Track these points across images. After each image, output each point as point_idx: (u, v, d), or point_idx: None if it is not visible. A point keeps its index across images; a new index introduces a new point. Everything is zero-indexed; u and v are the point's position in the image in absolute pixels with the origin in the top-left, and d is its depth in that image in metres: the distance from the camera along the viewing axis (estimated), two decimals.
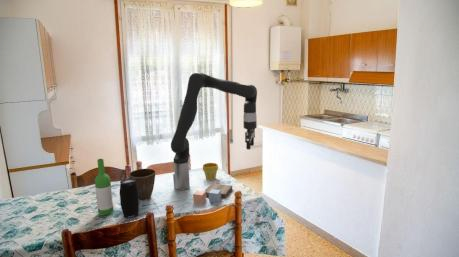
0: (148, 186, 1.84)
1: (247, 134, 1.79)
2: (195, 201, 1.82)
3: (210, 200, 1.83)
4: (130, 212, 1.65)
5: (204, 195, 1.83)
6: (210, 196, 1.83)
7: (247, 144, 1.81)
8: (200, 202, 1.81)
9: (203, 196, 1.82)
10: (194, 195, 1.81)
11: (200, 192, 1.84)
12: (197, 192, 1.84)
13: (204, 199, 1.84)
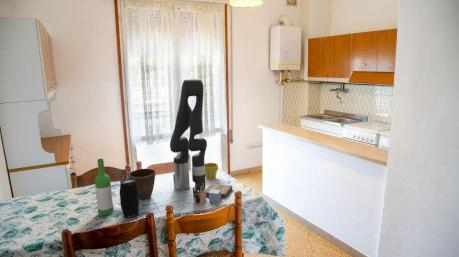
0: (148, 186, 1.84)
1: (194, 190, 1.76)
2: (195, 201, 1.82)
3: (210, 200, 1.83)
4: (130, 212, 1.65)
5: (204, 195, 1.83)
6: (210, 196, 1.83)
7: (196, 198, 1.80)
8: (200, 202, 1.81)
9: (203, 196, 1.82)
10: None
11: None
12: None
13: (204, 199, 1.84)
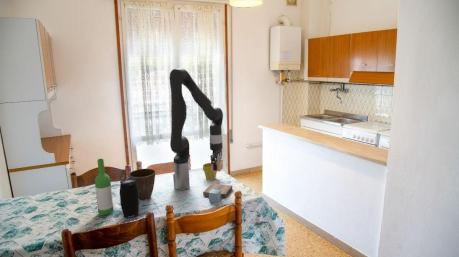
0: (148, 186, 1.84)
1: (212, 157, 1.85)
2: None
3: (210, 200, 1.83)
4: (130, 212, 1.65)
5: (221, 163, 1.92)
6: (210, 196, 1.83)
7: (213, 166, 1.89)
8: (217, 169, 1.90)
9: (220, 164, 1.90)
10: None
11: None
12: None
13: (221, 167, 1.92)
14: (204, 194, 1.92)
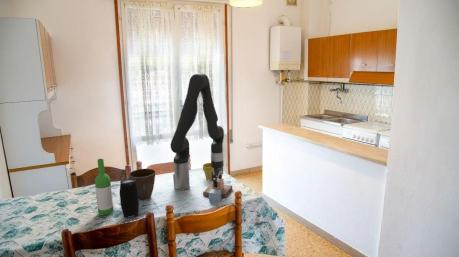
0: (148, 186, 1.84)
1: (213, 174, 1.87)
2: (214, 188, 1.94)
3: (210, 200, 1.83)
4: (130, 212, 1.65)
5: (222, 182, 1.95)
6: (210, 196, 1.83)
7: (214, 183, 1.90)
8: (219, 189, 1.93)
9: (221, 184, 1.93)
10: (213, 182, 1.93)
11: (219, 179, 1.96)
12: None
13: (222, 186, 1.95)
14: (204, 194, 1.92)
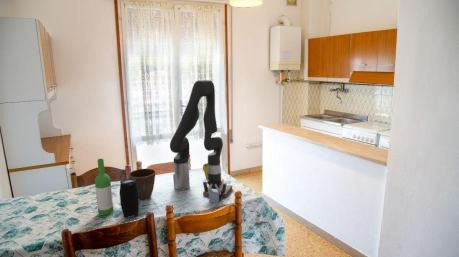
0: (148, 186, 1.84)
1: None
2: None
3: (210, 200, 1.83)
4: (130, 212, 1.65)
5: (222, 182, 1.95)
6: (210, 196, 1.83)
7: (208, 193, 1.86)
8: None
9: None
10: None
11: None
12: None
13: None
14: (204, 194, 1.92)
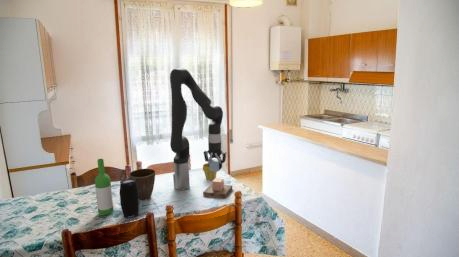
0: (148, 186, 1.84)
1: None
2: (214, 188, 1.94)
3: (210, 169, 1.86)
4: (130, 212, 1.65)
5: (222, 182, 1.95)
6: (210, 165, 1.86)
7: None
8: (219, 189, 1.93)
9: (221, 184, 1.93)
10: (213, 182, 1.93)
11: (219, 179, 1.96)
12: (215, 179, 1.95)
13: (222, 186, 1.95)
14: (204, 194, 1.92)
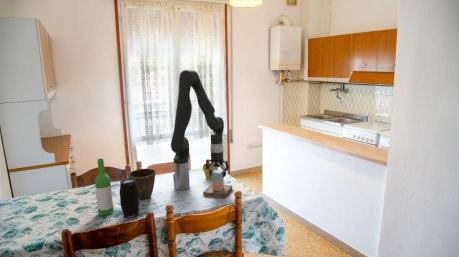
0: (148, 186, 1.84)
1: None
2: (214, 188, 1.94)
3: (213, 180, 1.93)
4: (130, 212, 1.65)
5: (222, 182, 1.95)
6: (213, 176, 1.92)
7: None
8: (219, 189, 1.93)
9: (221, 184, 1.93)
10: (213, 182, 1.93)
11: None
12: None
13: (222, 186, 1.95)
14: (204, 194, 1.92)
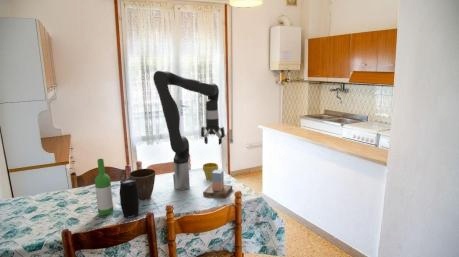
0: (148, 186, 1.84)
1: None
2: (214, 188, 1.94)
3: (213, 180, 1.93)
4: (130, 212, 1.65)
5: (222, 182, 1.95)
6: (213, 176, 1.92)
7: None
8: (219, 189, 1.93)
9: (221, 184, 1.93)
10: (213, 182, 1.93)
11: None
12: None
13: (222, 186, 1.95)
14: (204, 194, 1.92)
